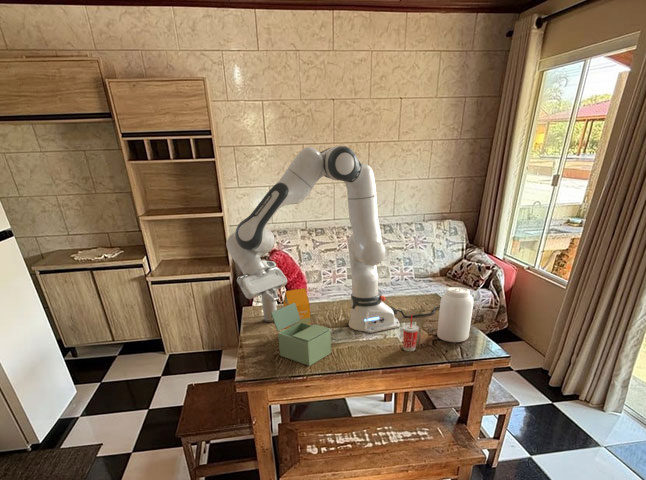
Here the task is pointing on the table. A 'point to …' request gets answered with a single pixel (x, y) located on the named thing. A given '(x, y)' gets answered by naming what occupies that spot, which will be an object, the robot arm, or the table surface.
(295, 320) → the flap
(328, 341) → the storage box
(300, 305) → the orange juice
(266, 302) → the travel mug
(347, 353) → the table surface
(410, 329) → the beverage cup
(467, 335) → the white upright cylinder
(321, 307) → the table surface
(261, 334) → the table surface
